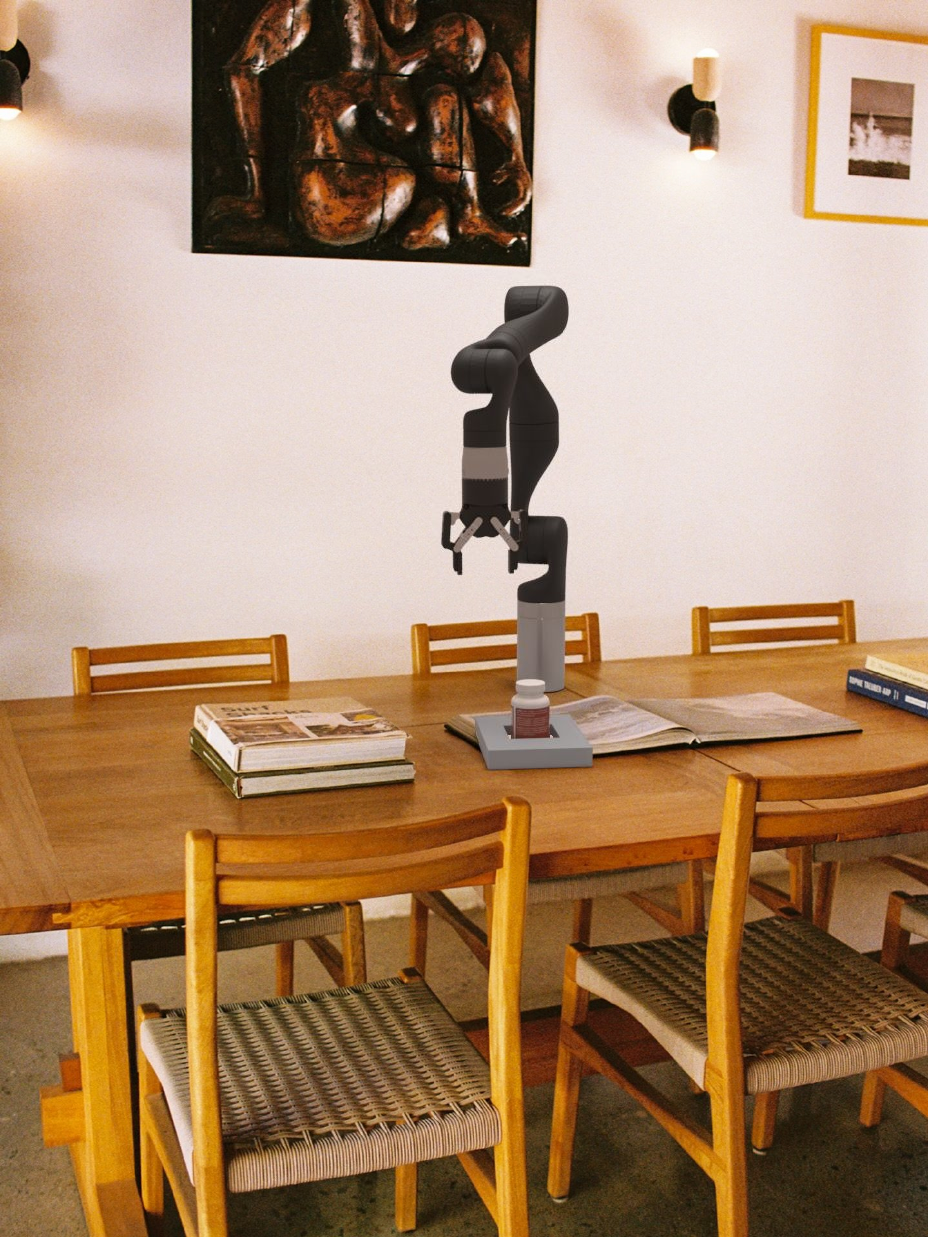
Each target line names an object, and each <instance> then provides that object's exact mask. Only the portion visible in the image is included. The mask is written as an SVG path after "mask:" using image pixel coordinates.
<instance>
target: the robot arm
mask: <svg viewBox="0 0 928 1237" xmlns="http://www.w3.org/2000/svg"><path fill="white" fill-rule="evenodd" d="M503 305H504V306H503V308H504V309H503V315H504V316H503V320H504V321H503V322H504V323H501V325H499V326H497V327H496V328H495V329H494V330H492V332H491V333H490V334H489V335H487V337H486V338H483V339H482V340H477V341H475V342H473V343H471V344H469V345H467V346H464V347H463V348H462V349H460V350H459V351H458V352H457V353H456V355H455V357H454V358H453V360H452V362H451V366H450V378H451V381H452V383H453V385H454V387H455V388H456V389H457V390H458V391H459V392H462V393H463V394H469V395H474V394H475V395H479V394H480V395H491V398H490V400H489V402H488V404H487V405H486V406H483V407H480V408H475V409H470V410H468V411H466V412H465V413H464V415H463V419H462V430H463V432H462V441H463V442H462V446H463V447H462V457H461V508H460V511H455V512H454V511H449V510H444V511H443V513H442V519H441V520H442V523H441V540H440V545H441V547H442V548H443V549H444V550H449V551H451V552H452V569H453V571H454V572H455V573H457V576H463V552H462V550H463V548H464V546H465V545H466V544H467V542H469V541H470V539H471V538H472V537H474V538H476V539H478V538H479V539H480V538H484V537H487V538H496V537H499V536H500V537H501V539H502V540H503V541H504V543H506V545H507V546H508V547H509V549H507V553H508V554H507V559H508V560H507V571H508V574H510V575H511V574H512V575H513V574H515V571H517V570H518V568H519V564H521V565H522V564H523V565H544V566H545V565H548V569H547V571H546V572H545V573H543V575H541V576H539V577H536V578H534V579H531V580H528V581H524V582H522V583H520V584H519V585H518V587H517V593H516V595H517V596H516V598H517V601H516V602H517V604H516V606H517V607H516V610H517V611H516V612H517V613H516V623H517V624H516V627H517V628H516V630H517V631H516V682H517V681H519V680H525V679H536V680H542V681H544V682H545V692H544V693H552V692H558V691H561V690H563V689H565V672H566V671H565V668H566V662H565V661H566V591H567V590H566V589H567V588H566V585H567V583H566V582H567V558H568V547H569V546H568V544H569V528H568V524H567V520H565V518H564V517H563V516H557V515H529V508H530V504H531V503H530V502H531V499H532V496H533V494H534V492H535V489H536V487H537V485H538V483H539V482H540V480H541V478H542V476H543V475H544V474H545V472H546V471H547V469H548V468H549V466H550V464H551V463H552V461H553V460H554V458H555V456H556V454H557V452H558V450H559V446H560V421H559V420H560V413H559V409H558V406H557V403H556V402H555V399H554V398H553V396H552V395H551V393H550V391H549V390H548V388H547V387H546V385H545V383H544V382H543V380H542V379H541V377H540V376H539V374H538V372H537V371H536V370H537V369H536V368H535V366H534V363H533V361H532V358H531V354H532V353H533V352H534V351H536V350H537V349H539V348H541V347H543V346H545V345H546V344H547V343H549V342H550V341H552V340H554V339H557V338H558V337H560V336H561V335H562V334H563V333H564V331H565V330H566V328H567V325H568V321H569V316H570V315H569V314H570V308H569V298H568V296H567V294H566V292H565V290H563V288H561V287H559V286H555V285H517V286H515V285H514V286H512V287H509V288H508V290H507V291H506V294H505V297H504V304H503ZM507 423H508V428H507ZM507 429H509V430H508V436H509V440H508V441H509V453H510V454H509V455H510V456H509V458H510V459H509V458H508V450H507V449H508V448H507ZM509 460H510V470H509ZM509 473H510V476H511V477H510V483H511V485H510V487H511V488H510V491H511V492H510V507H509ZM457 520H459V521H460V522H461V523H462V524H463V526H464V528H463V529H462V530H461V532H460V534H459V535H458V536H457V538H456V540H455V541H454V542H453V541H451V533H452V532H451V531H452V526H454V525H455V524H456V521H457ZM508 523H509V531H507V529H506V528H505V527H506V526H507V525H508Z"/></svg>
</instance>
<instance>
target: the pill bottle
mask: <svg viewBox="0 0 928 1237" xmlns="http://www.w3.org/2000/svg"><path fill="white" fill-rule="evenodd" d="M515 692H516V694H514V695H513V697H512V698H511V700H510V702H511V703H510V716H511V739H527V738H550V715H551V714H550V713H551V712H550V705H551V704H550V703H551V702H550V698H549V697H548V696H547V695H546V694H544V693H546V692H545V682H544V681H542V680H536V679H525V680H519V681H517V680H516V681H515Z"/></svg>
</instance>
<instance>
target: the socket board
mask: <svg viewBox="0 0 928 1237" xmlns="http://www.w3.org/2000/svg"><path fill="white" fill-rule="evenodd" d="M475 729H476V732H477V736H478V740H479V743H478V746H479V748H480V751H481V754H482V757H483V759H484V761H485V765H486V767H487V770H515V769H516V770H520V769H549V768H550V769H551V768H552V769H554V768H586V767H588V768H589V767H593V749H594V748H593V746H592V744H591V743H590V741H589V740H588V739H587V737H586V736H585V734H584V733H583V731H582V730H581V729H580V727H579V726H578V724H577V723H576V721H575V720H574V719H573V717H572V716H571V714H567V713H566V714H550V735H552V736H553V738H527V739H509V737H508V735H511V715H493V716H490V715H489V716H487V715H486V716H475V717H474V730H475Z"/></svg>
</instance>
